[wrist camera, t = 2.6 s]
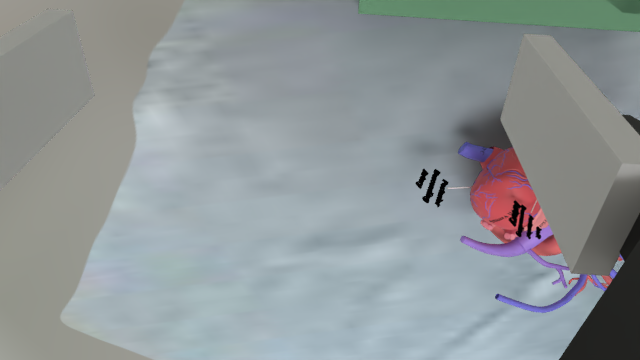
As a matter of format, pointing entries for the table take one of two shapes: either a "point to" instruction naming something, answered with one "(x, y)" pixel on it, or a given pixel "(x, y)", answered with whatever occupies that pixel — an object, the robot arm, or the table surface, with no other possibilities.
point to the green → (518, 11)
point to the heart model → (511, 216)
